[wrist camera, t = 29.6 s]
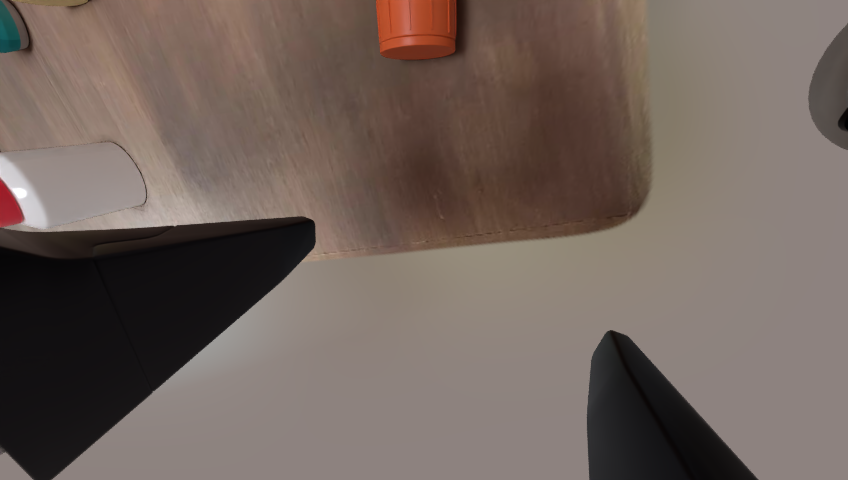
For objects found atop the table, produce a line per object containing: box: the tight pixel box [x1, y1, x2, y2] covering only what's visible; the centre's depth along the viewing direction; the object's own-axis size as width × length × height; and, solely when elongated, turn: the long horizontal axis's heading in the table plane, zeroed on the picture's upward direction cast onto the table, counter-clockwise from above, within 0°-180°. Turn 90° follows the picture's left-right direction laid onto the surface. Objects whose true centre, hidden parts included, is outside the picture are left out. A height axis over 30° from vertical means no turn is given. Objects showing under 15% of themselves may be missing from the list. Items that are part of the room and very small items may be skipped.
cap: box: [376, 0, 456, 60], centre depth 15 cm, size 4×4×3 cm
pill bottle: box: [0, 142, 146, 229], centre depth 32 cm, size 8×8×11 cm
